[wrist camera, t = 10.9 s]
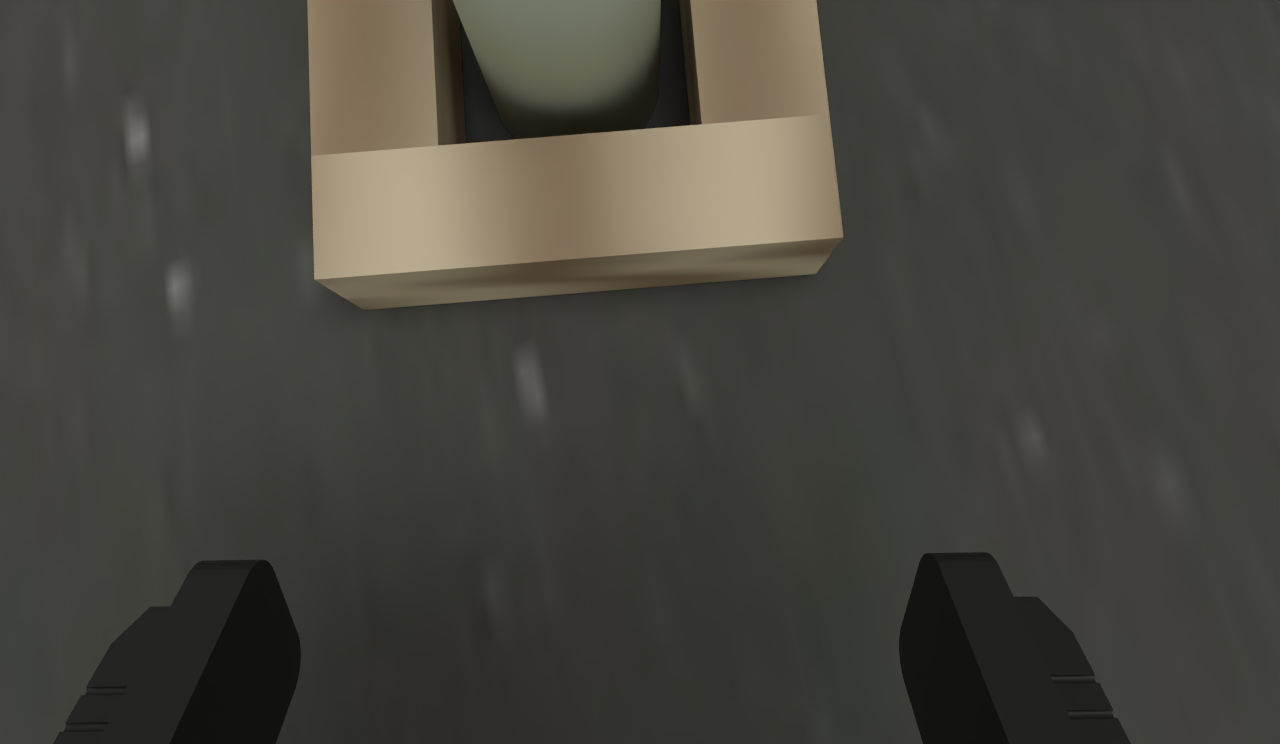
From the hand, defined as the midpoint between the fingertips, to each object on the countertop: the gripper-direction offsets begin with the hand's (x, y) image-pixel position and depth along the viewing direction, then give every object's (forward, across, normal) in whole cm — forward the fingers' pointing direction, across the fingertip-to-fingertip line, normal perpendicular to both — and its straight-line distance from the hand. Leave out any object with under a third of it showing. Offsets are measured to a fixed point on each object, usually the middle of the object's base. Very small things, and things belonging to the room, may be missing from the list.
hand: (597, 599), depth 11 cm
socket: (+15, +1, -2) cm, 15 cm away
